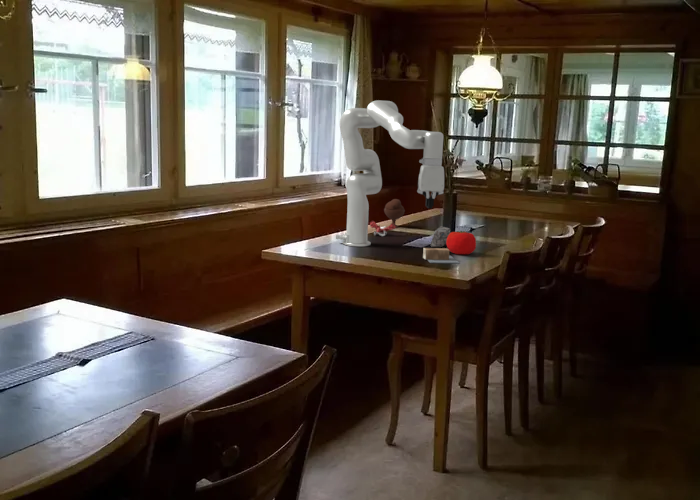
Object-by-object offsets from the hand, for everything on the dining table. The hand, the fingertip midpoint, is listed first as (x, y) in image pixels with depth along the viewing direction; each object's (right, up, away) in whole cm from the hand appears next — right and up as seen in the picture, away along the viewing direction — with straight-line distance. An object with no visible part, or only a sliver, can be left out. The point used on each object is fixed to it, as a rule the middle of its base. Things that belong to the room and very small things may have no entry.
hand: (429, 207), depth 300 cm
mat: (+5, -21, +5) cm, 22 cm away
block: (-2, -19, +3) cm, 19 cm away
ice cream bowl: (-10, -6, +82) cm, 83 cm away
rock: (+8, -15, +36) cm, 40 cm away
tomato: (+16, -19, +19) cm, 31 cm away
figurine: (-18, -10, +57) cm, 61 cm away
